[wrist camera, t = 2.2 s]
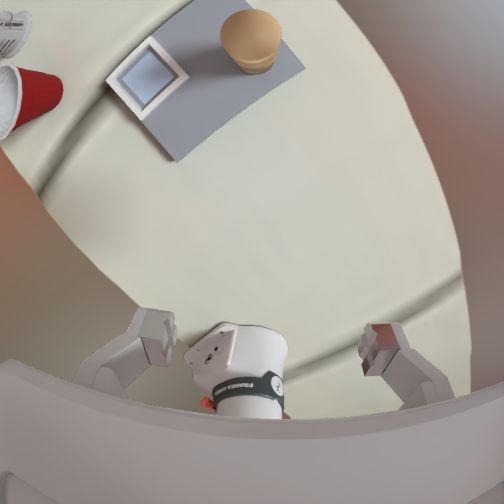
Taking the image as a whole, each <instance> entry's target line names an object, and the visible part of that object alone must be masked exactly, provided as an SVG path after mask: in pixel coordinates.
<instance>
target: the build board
mask: <svg viewBox="0 0 504 504" xmlns="http://www.w3.org/2000/svg"><path fill="white" fill-rule="evenodd" d="M246 9H253V8H252V7H251V6H250V5H249V4H248V3H247V2H246V1H245V0H194V1H193V2H192V3H190V4H189V5H187V6H186V7H185V8H183V9H182V10H181V11H179V12H178V13H177V14H175V15H174V16H173V17H172V18H170V19H169V20H168V21H167V22H165V23H164V24H163V25H162V26H161V27H159V28H158V29H157V30H156V31H155V32H154V33H153V34H151V35H150V36H149V37H148V38H147V39H146V40H145V41H143V42H142V43H141V44H140V45H139V46H138V47H137V48H136V49H135V50H134V51H133V52H132V53H131V54H130V55H129V56H128V57H127V58H126V59H125V60H124V61H123V62H122V63H121V64H120V65H119V66H118V67H117V68H116V69H115V70H114V71H113V73H112V74H111V75H110V76H109V77H108V78H107V79H106V82H107V83H108V85H109V86H110V87H111V88H112V89H113V90H114V91H115V93H116V94H117V95H118V96H119V97H120V98H121V99H122V100H123V102H124V103H125V104H126V105H127V106H128V107H129V108H130V110H131V111H132V112H133V113H134V114H135V115H136V116H137V118H138V119H139V120H140V121H141V122H142V123H143V124H144V126H145V127H146V128H147V129H148V130H149V131H150V132H151V133H152V135H153V136H154V137H155V138H156V139H157V140H158V141H159V143H160V144H161V145H162V146H163V147H164V148H165V149H166V151H167V152H168V153H169V154H170V155H171V156H172V157H173V159H174V160H175V161H176V162H177V163H178V162H179V161H180V160H181V159H183V158H184V157H185V156H186V155H187V154H188V153H190V152H191V151H192V150H193V149H194V148H196V147H197V146H198V145H199V144H200V143H202V142H203V141H204V140H205V139H206V138H208V137H209V136H210V135H211V134H213V133H214V132H215V131H217V130H218V129H219V128H220V127H222V126H223V125H224V124H226V123H227V122H228V121H229V120H231V119H232V118H233V117H235V116H236V115H237V114H239V113H240V112H242V111H243V110H244V109H246V108H247V107H248V106H250V105H251V104H253V103H254V102H255V101H257V100H258V99H260V98H261V97H263V96H264V95H266V94H267V93H268V92H270V91H271V90H273V89H274V88H276V87H277V86H279V85H280V84H282V83H284V82H285V81H287V80H288V79H290V78H291V77H293V76H295V75H296V74H298V73H299V72H301V71H303V70H304V69H306V68H305V67H304V65H303V64H302V63H301V62H300V60H299V59H298V58H297V57H296V55H295V54H294V53H293V52H292V51H291V49H290V48H289V47H288V46H287V45H286V44H285V42H284V41H283V40H282V39H281V41H280V45H279V48H278V51H277V54H276V58H275V61H274V64H273V66H272V67H271V68H270V69H269V70H268V71H267V72H265V73H263V74H258V75H253V74H248V73H246V72H244V71H243V70H242V69H241V68H240V67H239V66H238V65H237V63H236V62H235V61H234V60H233V58H232V57H231V56H230V55H229V53H228V52H227V51H226V50H225V48H224V47H223V45H222V43H221V40H220V31H221V27H222V25H223V23H224V22H225V20H226V19H227V18H228V17H229V16H231V15H232V14H234V13H236V12H238V11H241V10H246Z"/></svg>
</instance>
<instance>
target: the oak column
mask: <svg viewBox="0 0 504 504" xmlns="http://www.w3.org/2000/svg"><path fill="white" fill-rule="evenodd" d="M281 36H282V33H281V28H280V25H279V23H278V22H277V20H276V19H275V18H274V17H273V16H271V15H270V14H268V13H266V12H264V11H261V10H256V9H246V10H241V11H238V12H236V13H234V14H232V15H231V16H229V17H228V18H227V19H226V20H225V22H224V23H223V25H222V27H221V31H220V40H221V43H222V45H223V47H224V48H225V50H226V51H227V52H228V53H229V55H230V56H231V57H232V58H233V60H234V61H235V62H236V63H237V65H238V66H239V67H240V68H241V69H242V70H243V71H244V72H246V73H248V74H253V75H258V74H263V73H265V72H267V71H268V70H269V69H270V68H271V67H272V66H273V64H274V61H275V58H276V54H277V51H278V48H279V45H280V41H281Z"/></svg>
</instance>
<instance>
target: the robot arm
mask: <svg viewBox="0 0 504 504" xmlns="http://www.w3.org/2000/svg"><path fill="white" fill-rule="evenodd" d="M174 319H175V317H174V313H173V312H170V311H163V310H157V309H149V308H143V307H139V308H138V309H137V311H136V313H135V315H134V317H133V319H132V321H131V323H130V325H129V328H128V329H127V331H126V333H125V334H121V335H120V336H118V337H117V338H115V339H113V340H112V341H110V342H109V343H108V344H106V345H104V346H103V347H101V348H100V349H98V350H97V351H95V352H94V353H92V354H91V355H89V356H88V357H86V358H85V359H83V360H82V362H81V364H80V366H79V368H78V370H77V372H76V374H75V376H74V378H73V380H72V382H69V381H66V380H63V379H61V378H58V377H56V376H53V375H50V374H48V373H45V372H43V371H41V370H38V369H36V368H34V367H31V366H29V365H27V364H25V363H22V362H20V361H18V360H16V359H8V360H6V361H4V362H2V363H1V364H0V504H504V382H502V383H499V384H496V385H494V386H491V387H488V388H485V389H482V390H479V391H476V392H473V393H470V394H467V395H463V396H460V397H456V398H455V396H454V393H453V391H452V388H451V385H450V383H449V380H448V378H447V376H445V375H444V374H443V373H442V372H441V371H440V370H438V369H437V368H436V367H435V366H434V365H432V364H431V363H430V362H429V361H428V360H426V359H425V358H424V357H423V356H422V355H420V354H419V353H418V352H417V351H415V350H414V349H411V348H410V346H409V343H408V341H407V339H406V336H405V334H404V332H403V329H402V327H401V325H400V323H399V322H388V323H387V322H383V323H368V324H367V325H366V326H365V328H364V330H365V333H364V334H363V335H362V336H361V337H360V340H359V343H358V352H359V356H360V357H361V358H362V359H363V360H364V361H363V362H362V368H363V372H364V376H380V375H382V376H381V377H382V378H383V379H384V380H385V381H386V382H387V384H388V385H389V386H390V387H391V388H392V389H393V391H394V392H395V393H396V394H397V395H398V396H399V398H400V399H401V400H402V401H403V402H404V404H403V405H402V406H401V407H400V408H399V409H398V410H397V411H392V412H385V413H378V414H370V415H361V416H351V417H339V418H323V419H282V412H283V410H284V388H283V381H282V376H283V368H284V363H285V359H286V355H287V352H288V345H287V342H286V341H285V339H284V338H283V337H282V336H281V335H280V334H278V333H276V332H275V331H273V330H270V329H267V328H263V327H258V326H238V325H235V324H231V323H221V324H220V325H219V326H217V327H216V328H215V329H214V330H212V331H211V332H210V333H209V334H207V335H206V336H205V337H204V338H202V339H201V340H200V341H198V342H197V343H196V344H195V345H193V346H192V347H191V348H190V349H188V350H187V351H186V352H185V353H184V356H183V357H184V360H185V362H186V363H187V364H188V365H189V367H190V368H192V377H193V379H194V381H195V382H196V383H197V385H198V386H200V387H201V388H202V389H203V390H205V391H206V392H207V393H209V394H210V395H212V396H213V400H214V401H211V400H210V399H209V398H207V397H204V398H203V400H201V402H200V403H201V406H202V407H205V408H207V409H208V410H211V409H214V410H215V411H216V412H217V414H216V415H210V414H203V413H195V412H189V411H182V410H176V409H170V408H165V407H159V406H155V405H150V404H146V403H141V402H137V401H133V400H130V399H129V398H128V396H127V394H126V393H125V391H124V389H125V388H126V387H127V386H128V385H130V384H131V383H132V382H133V381H134V380H135V379H136V378H137V377H138V376H139V375H140V374H141V373H142V372H144V371H145V370H146V369H147V368H148V367H149V366H150V364H151V365H157V366H164V367H169V365H170V361H171V358H172V351H171V349H172V348H174V347H175V344H176V340H177V327H176V325H175V324H174V323H173V322H174ZM222 331H223V332H222Z"/></svg>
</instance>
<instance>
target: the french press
mask: <svg viewBox="0 0 504 504" xmlns="http://www.w3.org/2000/svg"><path fill="white" fill-rule="evenodd" d="M0 12H7V13H10V14H0V22H1V24H0V54H2V56H3V57H4V58H7V59H8V58H11V57H14V56H15V55H16V54H17V53H18V52H19V51H20V50H21V48H22V47H23V45H24V44H25V42H26V40H27V38H28V35H29V33H30V29H31V25H32V16H31V14H30V13H29V11H22V12H19V13H17V14H16V15H13V13H11V12H9V11H0ZM3 22H6V23H5V25H4V26H2V25H3Z"/></svg>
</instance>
